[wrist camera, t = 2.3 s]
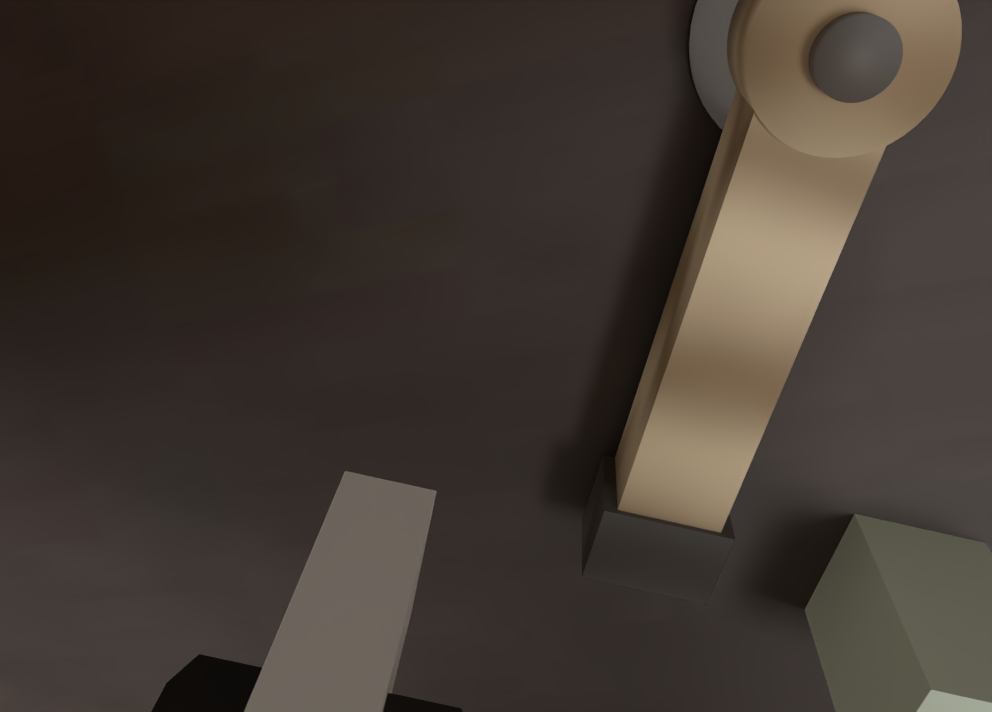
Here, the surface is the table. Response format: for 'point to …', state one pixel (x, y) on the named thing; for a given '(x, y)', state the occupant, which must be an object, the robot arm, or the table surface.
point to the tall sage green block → (905, 620)
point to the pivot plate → (712, 56)
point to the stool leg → (757, 269)
